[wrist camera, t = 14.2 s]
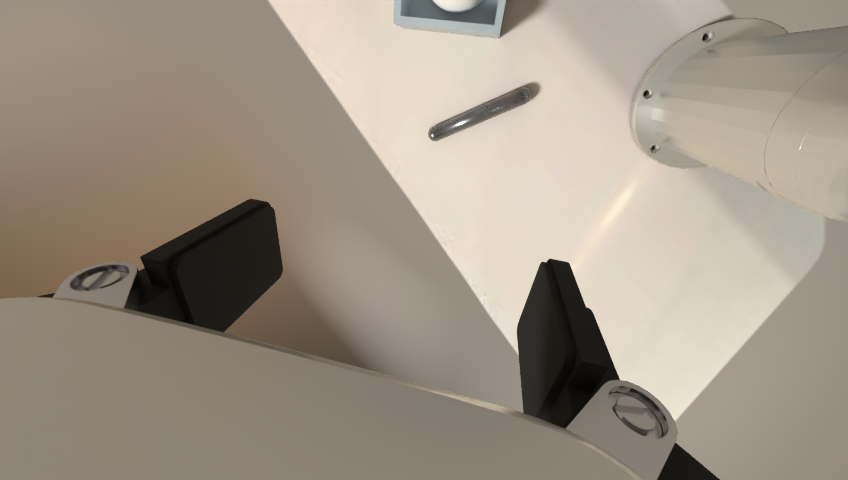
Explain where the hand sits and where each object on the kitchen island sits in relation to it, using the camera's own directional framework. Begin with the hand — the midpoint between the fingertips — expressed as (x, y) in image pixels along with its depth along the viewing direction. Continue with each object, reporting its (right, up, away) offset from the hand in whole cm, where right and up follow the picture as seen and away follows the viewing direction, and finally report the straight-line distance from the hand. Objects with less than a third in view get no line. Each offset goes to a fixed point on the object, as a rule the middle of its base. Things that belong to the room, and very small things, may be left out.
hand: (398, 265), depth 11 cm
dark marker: (+7, +15, +23) cm, 29 cm away
